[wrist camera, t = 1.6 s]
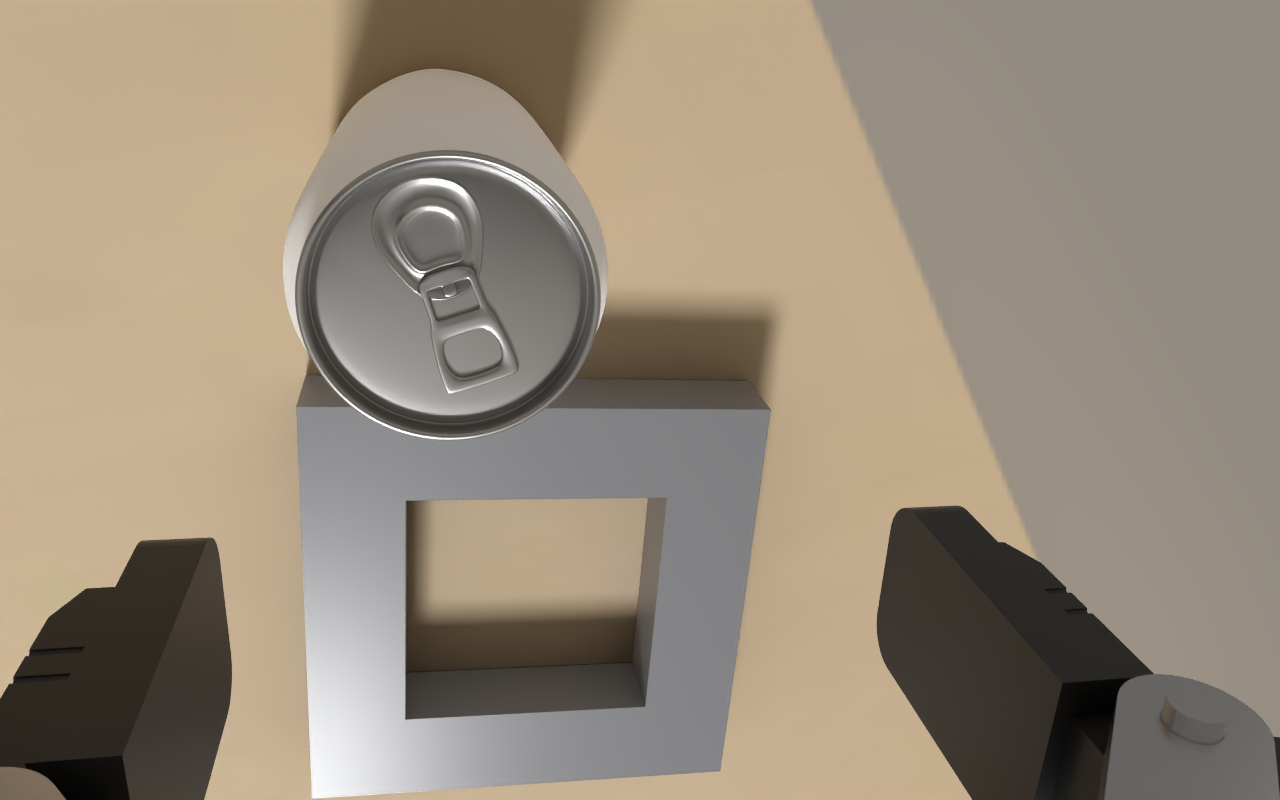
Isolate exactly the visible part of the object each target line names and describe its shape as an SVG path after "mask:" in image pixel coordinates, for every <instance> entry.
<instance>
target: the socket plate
mask: <svg viewBox="0 0 1280 800" xmlns="http://www.w3.org/2000/svg"><path fill="white" fill-rule="evenodd" d="M296 409H297V434H298V459H299V484H300V509H301V534H302V559H303V584H304V609H305V634H306V659H307V684H308V709H309V734H310V759H311V784H312V799H315V798H329V797H344V796H359V795H374V794H389V793H404V792H418V791H433V790H448V789H463V788H478V787H493V786H508V785H522V784H537V783H552V782H567V781H582V780H597V779H612V778H626V777H641V776H656V775H671V774H686V773H701V772H716V771H720V769H721V762H722V755H723V748H724V741H725V734H726V727H727V719H728V712H729V705H730V698H731V691H732V684H733V677H734V669H735V662H736V655H737V648H738V641H739V634H740V626H741V619H742V612H743V605H744V598H745V591H746V584H747V576H748V569H749V562H750V555H751V548H752V541H753V533H754V526H755V519H756V512H757V505H758V498H759V491H760V483H761V476H762V469H763V462H764V455H765V448H766V440H767V433H768V426H769V419H770V412H771V409H770V408H769V407H768V405H767V404H766V403H765V402H764V400H763V399H762V398H761V397H760V395H759V394H758V393H757V391H756V390H755V389H754V388H753V386H752V385H751V384H750V382H749V381H730V380H646V379H573V381H572V382H571V383H570V385H569V386H568V387H567V388H566V389H565V390H564V392H563V393H562V394H561V395H560V396H559V397H558V398H557V399H556V400H555V401H553V402H552V403H551V404H550V405H549V406H548V407H546V408H545V409H544V410H542V411H541V412H539V413H538V414H537V415H535V416H533V417H532V418H530V419H528V420H527V421H525V422H523V423H521V424H519V425H517V426H515V427H513V428H510V429H508V430H505V431H502V432H499V433H496V434H493V435H489V436H485V437H480V438H474V439H466V440H433V439H425V438H419V437H414V436H410V435H407V434H403V433H400V432H397V431H394V430H391V429H389V428H387V427H384V426H382V425H380V424H378V423H376V422H374V421H372V420H370V419H369V418H367V417H365V416H364V415H362V414H361V413H359V412H358V411H356V410H355V409H354V408H352V407H351V406H350V405H349V404H347V403H346V402H345V401H344V400H343V399H342V398H341V397H339V396H338V395H337V393H336V392H335V391H334V390H333V389H332V388H331V387H330V386H329V385H328V383H327V382H326V381H325V380H324V378H323V377H322V376H309V375H306V376H305V380H304V383H303V386H302V390H301V393H300V396H299V400H298V403H297V407H296ZM590 498H648V505H647V515H646V526H645V536H644V546H643V557H642V567H641V577H640V588H639V598H638V608H637V619H636V629H635V639H634V650H633V660H632V663H613V664H591V665H568V666H546V667H523V668H501V669H478V670H456V671H433V672H411V673H407V501H420V500H505V499H590Z"/></svg>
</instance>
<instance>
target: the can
mask: <svg viewBox="0 0 1280 800" xmlns="http://www.w3.org/2000/svg"><path fill="white" fill-rule="evenodd" d="M283 280H284V290H285V296H286V301H287V306H288V309H289V313H290V316H291V319H292V322H293V325H294V327H295V329H296V332H297V334H298V336H299V338H300V340H301V342H302V344H303V345H304V347H305V349H306V350H307V352H308V354H309V356H310V358H311V359H312V361H313V363H314V365H315V366H316V368H317V370H318V371H319V373H320V374H321V376H322V377H323V378H324V380H325V381H326V382H327V383H328V385H329V386H330V387H331V388H332V389H333V390H334V391H335V392H336V393H337V395H338V396H339V397H341V398H342V399H343V400H344V401H345V402H346V403H347V404H349V405H350V406H351V407H352V408H354V409H355V410H356V411H358V412H359V413H361V414H362V415H364V416H365V417H367V418H369V419H370V420H372V421H374V422H376V423H378V424H380V425H382V426H384V427H387V428H389V429H391V430H394V431H397V432H400V433H403V434H407V435H410V436H414V437H419V438H425V439H433V440H466V439H474V438H480V437H485V436H489V435H493V434H496V433H499V432H502V431H505V430H508V429H510V428H513V427H515V426H517V425H519V424H521V423H523V422H525V421H527V420H528V419H530V418H532V417H533V416H535V415H537V414H538V413H539V412H541V411H542V410H544V409H545V408H546V407H548V406H549V405H550V404H551V403H552V402H553V401H555V400H556V399H557V398H558V397H559V396H560V395H561V394H562V393H563V392H564V390H565V389H566V388H567V387H568V386H569V385H570V383H571V382H572V381H573V379H574V378H575V377H576V375H577V374H578V372H579V371H580V369H581V367H582V366H583V364H584V362H585V360H586V358H587V356H588V354H589V352H590V349H591V347H592V344H593V341H594V338H595V335H596V332H597V330H598V327H599V325H600V322H601V318H602V315H603V311H604V307H605V302H606V296H607V287H608V263H607V254H606V248H605V243H604V238H603V234H602V230H601V227H600V224H599V221H598V218H597V216H596V213H595V211H594V209H593V207H592V205H591V203H590V201H589V199H588V197H587V195H586V193H585V192H584V190H583V188H582V186H581V185H580V183H579V182H578V180H577V179H576V177H575V176H574V174H573V173H572V171H571V170H570V168H569V167H568V165H567V164H566V163H565V161H564V160H563V158H562V157H561V155H560V154H559V153H558V151H557V150H556V148H555V147H554V146H553V144H552V143H551V142H550V140H549V139H548V137H547V136H546V135H545V133H544V132H543V131H542V129H541V128H540V127H539V125H538V124H537V123H536V121H535V120H534V119H533V118H532V116H531V115H530V114H529V113H528V112H527V111H526V110H525V108H524V107H523V106H522V105H521V104H520V103H519V102H517V101H516V100H515V99H514V98H513V97H512V96H510V95H509V94H508V93H506V92H505V91H504V90H502V89H501V88H499V87H497V86H496V85H494V84H492V83H490V82H488V81H486V80H484V79H481V78H479V77H476V76H473V75H470V74H467V73H463V72H458V71H453V70H446V69H424V70H418V71H414V72H410V73H407V74H404V75H401V76H398V77H396V78H394V79H391V80H389V81H387V82H385V83H384V84H382V85H380V86H378V87H377V88H375V89H374V90H372V91H371V92H369V93H368V94H366V95H365V96H364V97H363V98H361V99H360V100H359V101H358V102H357V103H356V104H355V105H354V106H353V107H352V108H351V110H350V111H349V112H348V113H347V115H346V116H345V117H344V119H343V120H342V122H341V123H340V125H339V126H338V128H337V130H336V131H335V133H334V135H333V136H332V138H331V140H330V142H329V143H328V145H327V147H326V149H325V151H324V152H323V154H322V156H321V158H320V160H319V161H318V163H317V165H316V167H315V169H314V170H313V172H312V174H311V176H310V178H309V180H308V182H307V184H306V186H305V188H304V190H303V192H302V194H301V196H300V198H299V200H298V202H297V205H296V207H295V210H294V212H293V215H292V218H291V221H290V224H289V227H288V232H287V236H286V241H285V248H284V259H283Z"/></svg>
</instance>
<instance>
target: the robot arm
mask: <svg viewBox="0 0 1280 800" xmlns="http://www.w3.org/2000/svg"><path fill="white" fill-rule="evenodd" d="M877 636H878V642H879V647H880V651H881V655H882V658H883V660H884V662H885V664H886V666H887V668H888V670H889V671H890V673H891V674H892V676H893V677H894V679H895V680H896V682H897V684H898V685H899V687H900V688H901V690H902V691H903V693H904V694H905V696H906V698H907V699H908V701H909V702H910V704H911V705H912V707H913V708H914V710H915V711H916V713H917V715H918V716H919V718H920V719H921V721H922V722H923V724H924V725H925V727H926V728H927V730H928V732H929V733H930V735H931V736H932V738H933V739H934V741H935V742H936V744H937V746H938V747H939V749H940V750H941V752H942V753H943V755H944V756H945V758H946V759H947V761H948V763H949V764H950V766H951V767H952V769H953V770H954V772H955V773H956V775H957V776H958V778H959V780H960V781H961V783H962V784H963V786H964V787H965V789H966V790H967V792H968V794H969V795H970V797H971V798H972V800H1280V738H1279V737H1273V735H1272V732H1271V731H1270V729H1269V727H1268V726H1267V724H1266V723H1265V722H1264V720H1263V719H1262V718H1261V717H1260V716H1259V715H1258V714H1257V713H1256V712H1255V711H1253V710H1252V709H1251V708H1249V707H1248V706H1247V705H1246V704H1244V703H1243V702H1241V701H1240V700H1238V699H1237V698H1235V697H1233V696H1232V695H1230V694H1228V693H1226V692H1224V691H1222V690H1220V689H1218V688H1215V687H1212V686H1210V685H1208V684H1205V683H1202V682H1199V681H1196V680H1193V679H1189V678H1184V677H1180V676H1173V675H1163V674H1153V673H1152V672H1151V671H1150V670H1149V669H1148V668H1147V667H1146V666H1145V665H1144V664H1143V663H1142V662H1141V661H1140V660H1139V659H1138V658H1137V657H1136V656H1135V655H1134V654H1133V653H1132V652H1131V651H1130V650H1129V649H1128V648H1127V647H1126V646H1125V645H1124V644H1123V643H1122V642H1121V641H1120V640H1119V639H1118V638H1117V637H1116V636H1115V635H1114V634H1113V633H1112V632H1111V631H1110V630H1108V628H1107V627H1106V626H1105V625H1104V624H1102V622H1101V621H1100V620H1099V619H1097V618H1096V617H1095V616H1094V615H1093V614H1088V613H1087V608H1086V607H1085V606H1084V605H1083V604H1082V603H1081V602H1080V601H1079V600H1078V599H1077V598H1076V597H1075V596H1074V595H1073V594H1072V593H1067V592H1066V587H1065V586H1064V585H1063V584H1062V583H1061V582H1060V581H1059V580H1058V579H1057V578H1056V577H1055V576H1054V575H1053V574H1052V573H1051V572H1050V571H1049V570H1048V569H1047V568H1046V567H1045V566H1044V565H1042V563H1040V562H1038V561H1037V560H1035V559H1033V558H1031V557H1029V556H1028V555H1026V554H1024V553H1022V552H1020V551H1019V550H1017V549H1015V548H1013V547H1012V546H1010V545H1008V544H1006V543H1004V542H999V543H998V542H997V541H996V540H995V539H994V538H993V537H992V536H991V535H990V533H989V532H988V531H987V530H986V529H985V528H984V527H983V526H982V525H981V524H980V523H979V522H978V521H977V520H976V519H975V518H974V517H973V516H972V515H971V514H970V513H969V512H968V511H967V510H966V509H965V508H963V507H961V506H938V507H916V508H902V509H900V510H899V511H898V512H897V513H896V515H895V517H894V519H893V522H892V525H891V531H890V537H889V543H888V550H887V556H886V562H885V569H884V575H883V581H882V588H881V594H880V600H879V607H878V614H877ZM29 651H30V653H29V656H25V658H24V660H23V661H22V663H21V665H20V666H19V668H18V670H17V672H16V673H15V675H14V677H13V678H14V681H13V684H9V685H8V687H7V688H6V690H5V692H4V693H3V695H2V697H1V699H0V800H204V798H205V794H206V791H207V787H208V783H209V780H210V776H211V773H212V769H213V765H214V762H215V758H216V755H217V751H218V747H219V744H220V740H221V736H222V733H223V729H224V726H225V722H226V718H227V715H228V710H229V705H230V697H231V684H232V662H231V650H230V642H229V633H228V625H227V616H226V608H225V600H224V591H223V583H222V574H221V566H220V558H219V552H218V548H217V544H216V542H215V540H214V539H213V538H192V539H169V540H147V541H140V542H139V543H138V545H137V546H136V548H135V550H134V552H133V554H132V556H131V558H130V560H129V561H128V563H127V565H126V567H125V569H124V571H123V573H122V575H121V577H120V579H119V581H118V583H117V585H116V587H107V588H88V589H85V590H84V591H82V592H81V593H80V594H78V595H77V596H76V597H75V598H73V599H72V600H71V601H69V602H68V603H67V604H65V605H64V606H63V607H62V608H60V609H59V610H58V611H56V612H55V613H54V614H52V615H51V616H50V617H49V618H48V619H47V621H46V623H45V624H44V626H43V628H42V629H41V631H40V633H39V634H38V636H37V638H36V639H35V641H34V643H33V645H32V646H31V648H30V650H29Z"/></svg>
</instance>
